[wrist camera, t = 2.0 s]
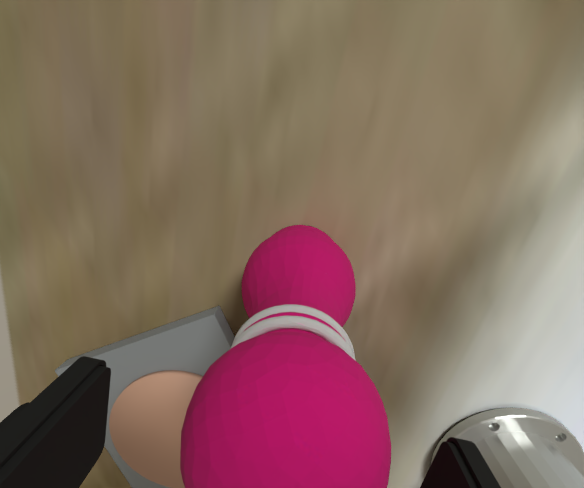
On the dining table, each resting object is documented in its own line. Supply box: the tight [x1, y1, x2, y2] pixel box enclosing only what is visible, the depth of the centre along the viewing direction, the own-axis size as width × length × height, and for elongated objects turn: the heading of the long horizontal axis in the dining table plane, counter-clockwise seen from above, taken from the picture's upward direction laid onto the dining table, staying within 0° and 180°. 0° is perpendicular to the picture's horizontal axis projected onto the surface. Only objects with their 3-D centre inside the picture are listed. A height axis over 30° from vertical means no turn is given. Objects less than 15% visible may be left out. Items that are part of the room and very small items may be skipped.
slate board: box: [55, 306, 235, 488], centre depth 28 cm, size 18×15×2 cm
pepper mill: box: [180, 225, 391, 488], centre depth 15 cm, size 7×7×20 cm
